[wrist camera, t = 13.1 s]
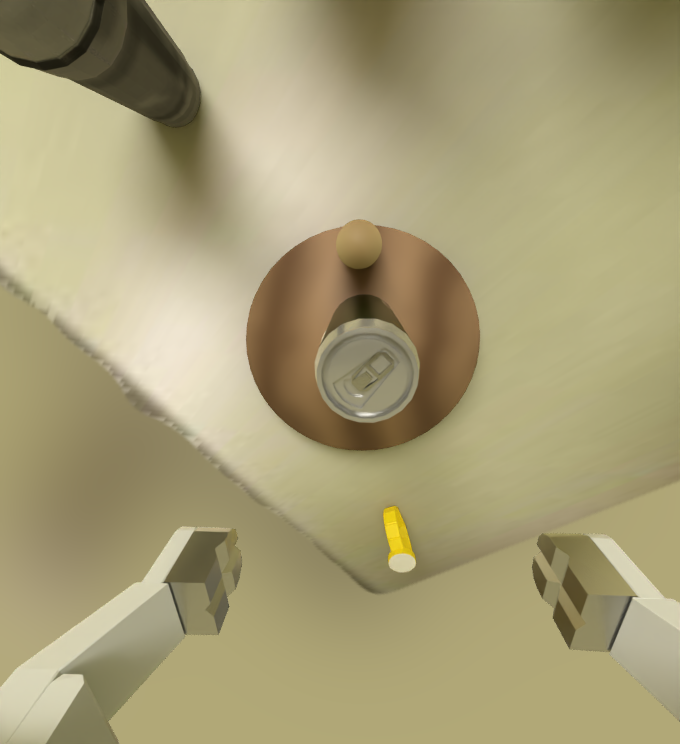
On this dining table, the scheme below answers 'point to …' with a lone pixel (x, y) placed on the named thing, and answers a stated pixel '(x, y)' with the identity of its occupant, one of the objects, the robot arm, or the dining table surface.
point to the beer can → (366, 361)
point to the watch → (398, 541)
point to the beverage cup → (104, 52)
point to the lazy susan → (316, 307)
